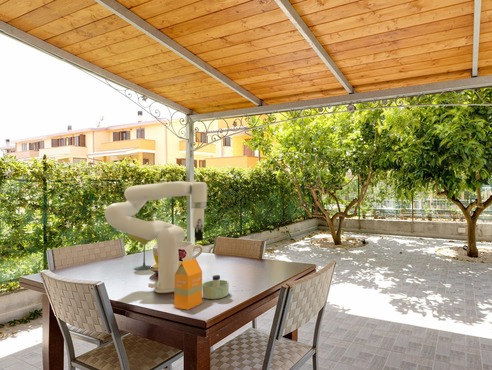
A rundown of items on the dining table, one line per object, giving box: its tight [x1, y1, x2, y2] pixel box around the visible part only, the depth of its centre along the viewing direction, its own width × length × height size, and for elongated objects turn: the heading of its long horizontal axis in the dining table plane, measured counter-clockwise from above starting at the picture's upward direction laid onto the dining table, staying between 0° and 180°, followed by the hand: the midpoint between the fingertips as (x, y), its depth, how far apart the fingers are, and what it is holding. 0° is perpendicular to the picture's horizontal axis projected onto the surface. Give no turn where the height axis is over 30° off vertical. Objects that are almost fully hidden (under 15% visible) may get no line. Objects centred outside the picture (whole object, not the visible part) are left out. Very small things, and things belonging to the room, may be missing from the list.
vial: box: [212, 274, 221, 287], centre depth 155 cm, size 3×3×9 cm
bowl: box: [202, 279, 230, 300], centre depth 155 cm, size 12×12×6 cm
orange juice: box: [173, 258, 203, 310], centre depth 142 cm, size 8×9×20 cm
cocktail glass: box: [127, 233, 154, 271], centre depth 208 cm, size 18×18×25 cm
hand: (198, 238), depth 165 cm, fingers open, 9 cm apart
